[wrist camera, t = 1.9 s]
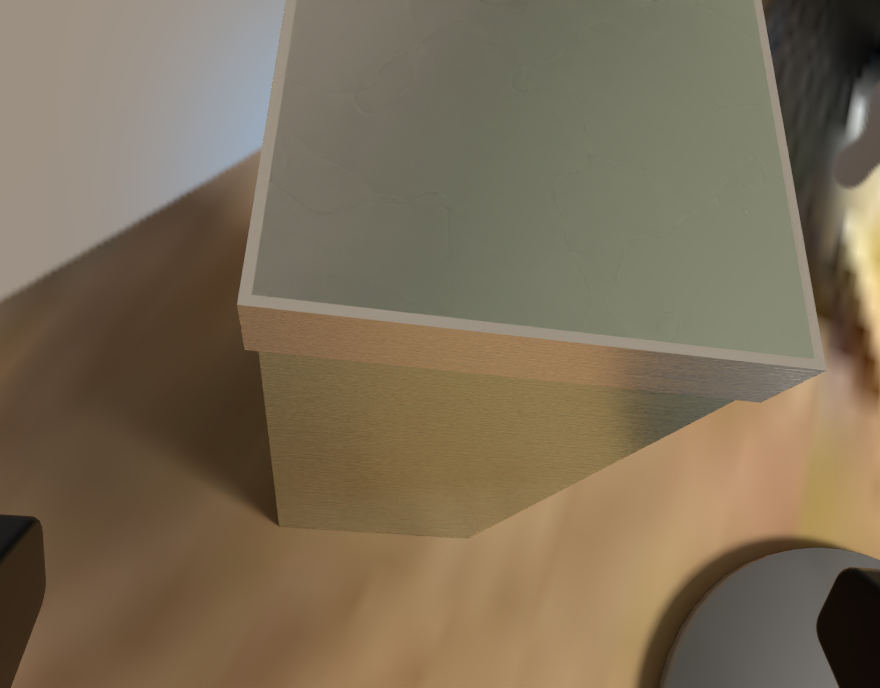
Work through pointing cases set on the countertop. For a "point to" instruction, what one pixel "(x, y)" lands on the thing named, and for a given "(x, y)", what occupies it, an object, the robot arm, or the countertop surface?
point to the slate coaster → (761, 624)
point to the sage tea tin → (513, 249)
